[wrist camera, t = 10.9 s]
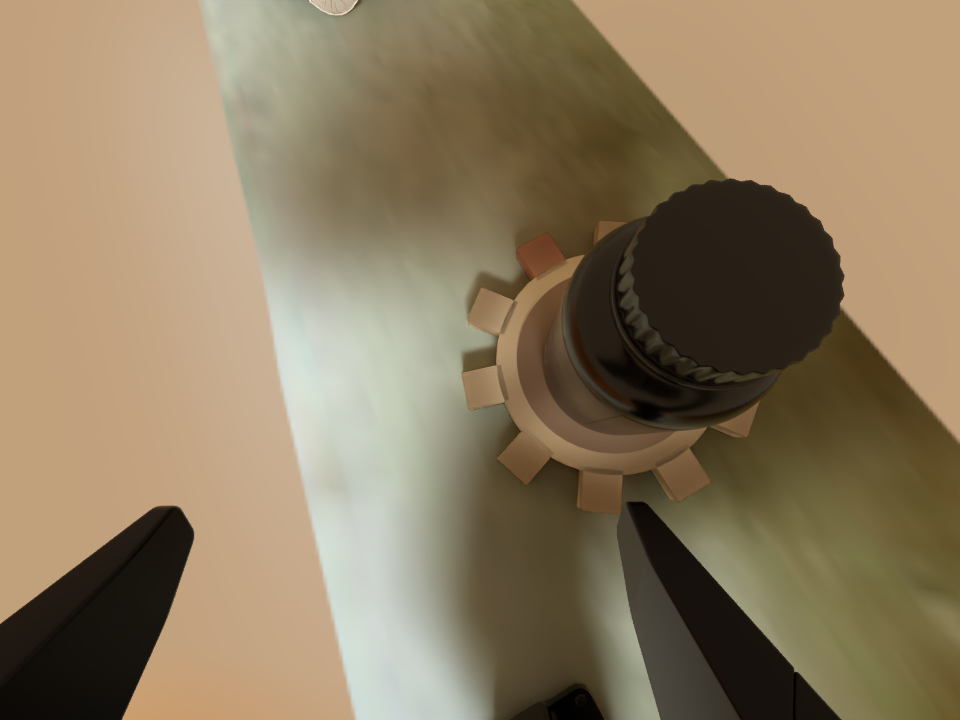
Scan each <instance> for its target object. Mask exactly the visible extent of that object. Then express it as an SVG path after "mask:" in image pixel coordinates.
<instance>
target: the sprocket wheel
mask: <svg viewBox="0 0 960 720" xmlns="http://www.w3.org/2000/svg"><path fill="white" fill-rule="evenodd" d="M626 223H627V222H614V221H601V220H599V222H598V224H597V226H596V228H595V231H594V244H595V243H596V242H598V241H599V240H600V239H601V238H603V237H604V236H605V235H606V234H608V233H609V232H611V231H612V230H614V229H616V228H618V227H620V226H621V225H623V224H626ZM584 256H585V255H580V256H576V257H573V258H570V259H567V260H566V259H565V258H564V256H563V255H562V253H561V252H560V250H559V249H558V247H557V245H556V244H555V242H554V241H553V239H552V238H551V236H550V235H549V233H548V232H546V233H544V234H542V235H540V236H539V237H537V238H535V239H533V240H532V241H530V242H528V243H526V244H524V245H523V246H521V247H519V248H517V255H516V258H517V260H518V261H519V263H520V265H521V266H522V268H523V269H524V271H525V272H526V274H527V276H528V277H529V279H530V280H531V281H530V282H529V283H528V284H527V285H526V286H525V287H524V289H523V290H522V291H521V292H520V293H519V294H518V296H517V297H516V299H515V300H512V299H509V298H507V297H504V296H502V295H499V294H497V293H495V292H492V291H490V290H487V289H485V288H483V287H481V290H480V292H479V294H478V296H477V298H476V300H475V303H474V305H473V307H472V309H471V311H470V313H469V316H468V318H467V321H468V325H470V326H472V327H475V328H477V329H479V330H482V331H484V332H487V333H489V334H491V335H494V336H496V337H498V338H499V339H498V344H497V358H496V365H495V366H490V367H486V368H481V369H477V370H472V371H467V372H463V373H461V375H462V380H463V384H464V389H465V394H466V399H467V404H468V408H469V410H475V409H480V408H484V407H489V406H493V405H498V404H502V403H504V404H505V406H506V408H507V410H508V412H509V414H510V416H511V418H512V419H513V421H514V422H515V424H516V425H517V427H518V428H519V430H520V431H521V432H520V433H519V434H518V435H517V436H516V437H515V439H514V440H513V441H512V442H511V443H510V444H509V446H508V447H507V448H506V449H505V450H504V451H503V452H502V454H501V455H500V456H499V457H498V458H497V459H498V460H499V461H500V462H501V463H502V464H503V465H504V466H506V467H507V468H508V469H509V470H510V471H511V472H512V473H513V474H514V475H515V476H517V477H518V478H519V479H520V480H521V481H522V482H523V483H524V484H525V485H527V484H528V483H529V482H530V481H531V480H532V478H533V477H534V476H535V475H536V474H537V473H538V471H539V470H540V469H541V468H542V467H543V466H544V464H545V463H546V462H547V461H548V460H549V459H550V457H551V458H553V459H555V460H557V461H559V462H561V463H563V464H565V465H567V466H570V467H573V468H576V469H579V480H578V495H577V507H578V508H579V509H580V510H581V511H590V512H599V513H609V514H618V515H620V514H621V500H622V479H623V475H631V474H636V473H641V472H646V471H649V470H651V471H652V473H653V474H654V476H655V477H656V479H657V480H658V482H659V484H660V485H661V487H662V488H663V490H664V491H665V493H666V495H667V496H668V498H669V499H671V500H674V501H677V502H680V501H681V500H683V499H685V498H686V497H688V496H689V495H691V494H693V493H694V492H696V491H698V490H699V489H701V488H702V487H704V486H706V485H707V484H709V483H711V480H710V479H709V477H708V476H707V474H706V473H705V471H704V470H703V468H702V466H701V465H700V463H699V462H698V460H697V459H696V457H695V456H694V454H693V453H692V451H691V450H690V447H691V446H692V445H693V444H694V443H695V442H696V441H697V440H698V439H699V437H700V436H701V435H702V434H703V432H704V431H705V430H706V429H707V427H706V428H701V429H695V430H685V431H674V432H662V433H650V434H638V435H608V434H603V433H599V432H596V431H593V430H590V429H588V428H585V427H583V426H582V425H580V424H578V423H577V422H575V421H573V420H572V419H571V418H570V417H568V416H567V415H566V414H565V413H564V412H563V411H562V410H561V409H560V407H559V406H558V405H557V404H556V402H555V401H554V399H553V397H552V396H551V394H550V392H549V390H548V387H547V385H546V382H545V378H544V373H543V361H542V359H543V349H544V344H545V341H546V337H547V334H548V332H549V329H550V327H551V324H552V322H553V319H554V317H555V315H556V312H557V310H558V307H559V305H560V302H561V300H562V298H563V295H564V293H565V290H566V288H567V286H568V283H569V281H570V279H571V277H572V275H573V273H574V271H575V269H576V267H577V266H578V264H579V263H580V261H581V260H582V258H583V257H584ZM758 405H759V402H758V403H757V404H755V405H754V406H753V407H751V408H750V409H749V410H747V411H746V412H744V413H742V414H741V415H739V416H737V417H735V418H733V419H731V420H729V421H726V422H724V423H720V424H717V425H714V426H710V427H711V428H714V429H716V430H718V431H721V432H723V433H725V434H728V435H730V436H732V437H748V434H749V431H750V428H751V425H752V422H753V419H754V416H755V413H756V410H757V408H758Z"/></svg>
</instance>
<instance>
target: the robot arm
mask: <svg viewBox="0 0 960 720" xmlns="http://www.w3.org/2000/svg"><path fill="white" fill-rule="evenodd" d="M617 537H618V543H619V549H620V555H621V561H622V566H623V572H624V578H625V584H626V590H627V595H628V601H629V606H630V611H631V616H632V620H633V624H634V627H635V631H636V634H637V638H638V641H639V645H640V648H641V652H642V655H643V659H644V662H645V666H646V669H647V673H648V676H649V680H650V683H651V687H652V690H653V694H654V697H655V701H656V704H657V708H658V711H659V715H660V718H661V720H841V719H840V718H839V716H838V715H837V714H836V713H835V712H834V711H833V710H832V709H831V708H830V707H829V706H828V705H827V704H826V702H825V701H824V700H823V699H822V698H821V697H820V696H819V695H818V694H817V693H816V692H815V690H814V689H813V688H812V687H811V686H810V685H809V684H808V683H807V682H806V680H805V679H804V678H803V677H802V676H801V675H800V674H799V673H798V672H794V667H793V666H792V665H791V664H790V663H789V662H788V661H787V659H786V658H785V657H784V656H783V655H782V654H781V653H780V652H779V651H778V649H777V648H776V647H775V646H774V645H773V644H772V643H771V642H770V640H769V639H768V638H767V637H766V636H765V635H764V634H763V633H762V632H761V630H760V629H759V628H758V627H757V626H756V625H755V624H754V623H753V621H752V620H751V619H750V618H749V617H748V616H747V615H746V614H745V613H744V611H743V610H742V609H741V608H740V607H739V606H738V605H737V604H736V603H735V601H734V600H733V599H732V598H731V597H730V596H729V595H728V594H727V592H726V591H725V590H724V589H723V588H722V587H721V586H720V585H719V584H718V582H717V581H716V580H715V579H714V578H713V577H712V576H711V575H710V573H709V572H708V571H707V570H706V569H705V568H704V567H703V566H702V565H701V563H700V562H699V561H698V560H697V559H696V558H695V557H694V556H693V555H692V553H691V552H690V551H689V550H688V549H687V548H686V547H685V546H684V544H683V543H682V542H681V541H680V540H679V539H678V538H677V537H676V536H675V534H674V533H673V532H672V531H671V530H670V529H669V528H668V527H667V525H666V524H665V523H664V522H663V521H662V520H661V519H660V518H659V517H658V515H657V514H656V513H655V512H654V511H653V510H652V509H651V508H650V507H649V505H648V504H646V503H644V502H625V503H624V504H623V507H622V510H621V514H620V518H619V522H618V526H617ZM193 540H194V530H193V528H192V526H191V524H190V523H189V521H188V519H187V518H186V516H185V515H184V513H183V511H182V510H181V508H180V507H178V506H157V507H155V508H153V509H151V510H150V511H148V512H147V513H146V514H144V515H143V516H142V517H140V518H139V519H138V520H137V521H135V522H134V523H133V524H131V525H130V526H129V527H127V528H126V529H125V530H123V531H122V532H121V533H119V534H118V535H117V536H115V537H114V538H113V539H111V540H110V541H109V542H108V543H106V544H105V545H104V546H102V547H101V548H100V549H98V550H97V551H96V552H94V553H93V554H92V555H91V556H89V557H88V558H86V559H85V560H84V561H82V562H81V563H80V564H79V565H77V566H76V567H75V568H73V569H72V570H71V571H69V572H68V573H67V574H65V575H64V576H63V577H61V578H60V579H59V580H57V581H56V582H55V583H54V584H52V585H51V586H50V587H48V588H47V589H46V590H44V591H43V592H42V593H40V594H39V595H38V596H37V597H35V598H34V599H33V600H31V601H30V602H29V603H27V604H26V605H25V606H23V607H22V608H21V609H19V610H18V611H17V612H16V613H14V614H13V615H11V616H10V617H9V618H7V619H6V620H5V621H3V622H2V623H1V624H0V720H122V718H123V716H124V714H125V712H126V709H127V707H128V705H129V702H130V700H131V698H132V696H133V694H134V691H135V689H136V687H137V685H138V682H139V680H140V678H141V676H142V673H143V671H144V669H145V667H146V665H147V662H148V660H149V658H150V656H151V654H152V651H153V649H154V647H155V645H156V642H157V640H158V638H159V636H160V633H161V631H162V629H163V626H164V624H165V622H166V619H167V617H168V614H169V612H170V609H171V606H172V603H173V601H174V597H175V595H176V592H177V589H178V586H179V583H180V580H181V577H182V574H183V571H184V568H185V565H186V562H187V559H188V556H189V553H190V550H191V547H192V544H193ZM579 694H582V695H584V696H585V699H584V700H583V701H581V702H578V701H576V700H575V699H576V696H577V695H579ZM511 720H606V719H605V718H604V716H603V714H602V712H601V711H600V709H599V707H598V705H597V703H596V702H595V700H594V698H593V696H592V694H591V693H590V691H589V689H588V688H587V687H586V686H585V685H583V684H578V683H577V684H575V685H573V686H571V687H569V688H568V689H566V690H565V691H563V692H562V693H560V694H558V695H557V696H555V697H554V698H552V699H551V700H549V701H547V702H546V703H545V702H537V703H536V704H534V705H533V706H531V707H529V708H528V709H526V710H525V711H523V712H522V713H520V714H518V715H517V716H515V717H514V718H512V719H511Z"/></svg>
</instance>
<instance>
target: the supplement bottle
mask: <svg viewBox="0 0 960 720" xmlns="http://www.w3.org/2000/svg"><path fill="white" fill-rule="evenodd" d="M843 280H844V274H843V271H842V269H841V268H840V255H839V254H838V252H837V251H836V250H835V249H834V246H833V239H832V237H831V236H830V235H829V234H828V233H826V232H825V231H824V228H823V225H822V223H821V221H820V220H818V219H817V218H815V217H813V216H812V215H811V214H810V212H809V210H808V209H807V207H806V206H803V205H802V204H799V203H796V202H795V201H794V200H793V198H792V197H791V196H790V195H788V194H785V193H781V192H778V191H776V190H775V189H774V188H773V187H772V186H768V185H759V184H758V183H756V182H754V181H752V180H748V181H738V180H735V179H731V178H730V179H726V180H724V181H716V180H709V181H707V182H706V183H704V184H695V185H691V186H689V187H688V188H687V189H686V190H685V191H680V192H676V193H673V194H672V195H671V196H670V197H669V199H668V200H667V201H665V202H662V203H660V204H658V205H657V206H656V207H655V209H654V210H653V212H652V213H651V215H650V216H647V217H643V218H639V219H636V220H633V221H631V222H628V223H626V224H623V225H621V226H620V227H618V228H616V229H614V230H612V231H611V232H609V233H608V234H606V235H605V236H604V237H603V238H601V239H600V240H599V241H598V242H596V243H595V244H594V245H593V246H592V247H591V248H590V249H589V251H588V252H587V253H586V254H585V256H584V257H583V258H582V260H581V261H580V263H579V264H578V266H577V267H576V269H575V271H574V273H573V275H572V277H571V279H570V281H569V283H568V286H567V288H566V290H565V293H564V295H563V298H562V300H561V302H560V305H559V307H558V310H557V312H556V315H555V317H554V319H553V322H552V324H551V327H550V329H549V332H548V334H547V337H546V341H545V344H544V349H543V359H542V361H543V373H544V378H545V382H546V385H547V387H548V390H549V392H550V394H551V396H552V397H553V399H554V401H555V402H556V404H557V405H558V406H559V407H560V409H561V410H562V411H563V412H564V413H565V414H566V415H567V416H568V417H570V418H571V419H572V420H573V421H575V422H577V423H578V424H580V425H582V426H583V427H585V428H588V429H590V430H593V431H596V432H599V433H603V434H608V435H638V434H650V433H662V432H674V431H685V430H695V429H701V428H706V427H710V426H714V425H717V424H720V423H724V422H726V421H729V420H731V419H733V418H735V417H737V416H739V415H741V414H742V413H744V412H746V411H747V410H749V409H750V408H751V407H753V406H754V405H755V404H757V403H758V402H759V401H760V400H761V399H762V398H763V397H764V396H765V395H766V394H767V393H768V392H769V391H770V390H771V388H772V387H773V385H774V384H775V383H776V381H777V380H778V378H779V376H780V375H781V373H782V371H783V370H784V369H785V368H787V367H788V366H790V365H794V364H797V363H800V362H801V361H803V360H804V358H805V357H806V356H807V354H808V353H809V352H812V351H814V350H816V349H818V348H819V347H820V344H821V342H822V339H823V338H824V337H825V336H827V335H828V334H830V333H831V332H832V327H833V321H834V320H835V319H837V317H838V316H839V315H840V302H841V300H842V299H843V297H844V292H843V288H842V282H843Z"/></svg>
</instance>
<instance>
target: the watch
mask: <svg viewBox="0 0 960 720" xmlns="http://www.w3.org/2000/svg"><path fill="white" fill-rule="evenodd" d="M309 1H310V2H311V3H312V4H313V5H314V6H316V7H317V8H318V9H319V10H321V11H323V12H325V13H327V14H330V15H343V14H346V13H348V12H349V11H350V10H352V9H353V7H354V6H355V4H356V3H357V2H358V0H309Z"/></svg>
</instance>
